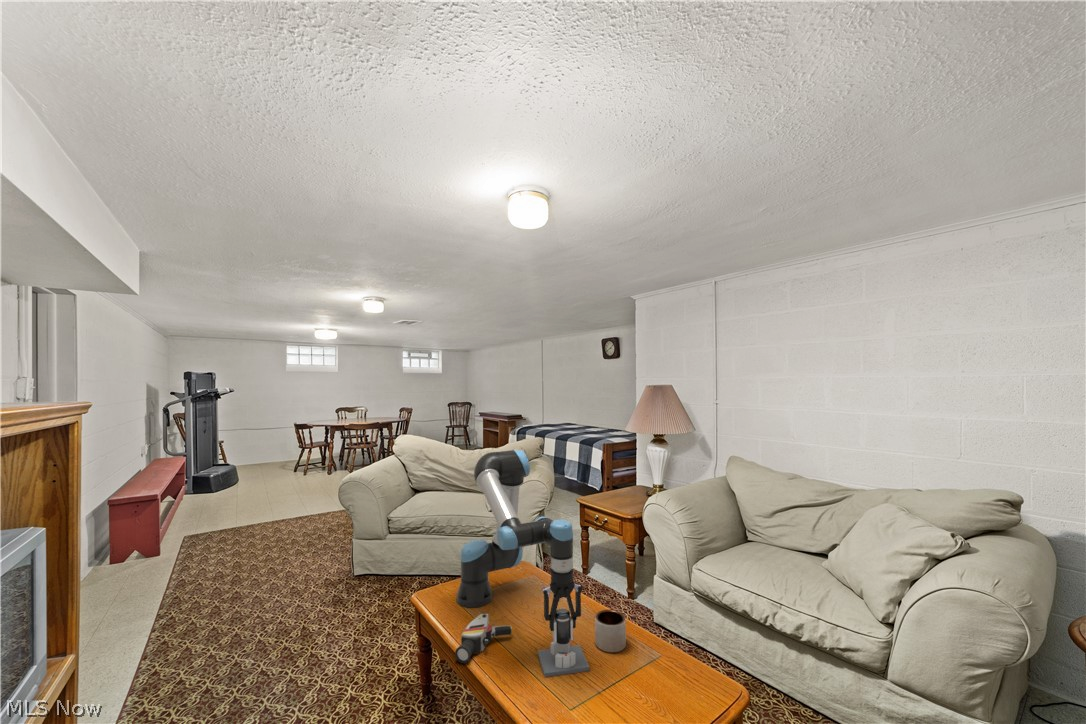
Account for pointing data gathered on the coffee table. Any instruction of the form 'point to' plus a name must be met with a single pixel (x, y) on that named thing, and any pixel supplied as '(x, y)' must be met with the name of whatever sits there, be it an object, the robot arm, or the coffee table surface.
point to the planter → (610, 631)
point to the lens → (563, 626)
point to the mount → (562, 660)
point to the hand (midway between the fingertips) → (562, 638)
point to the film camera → (478, 637)
